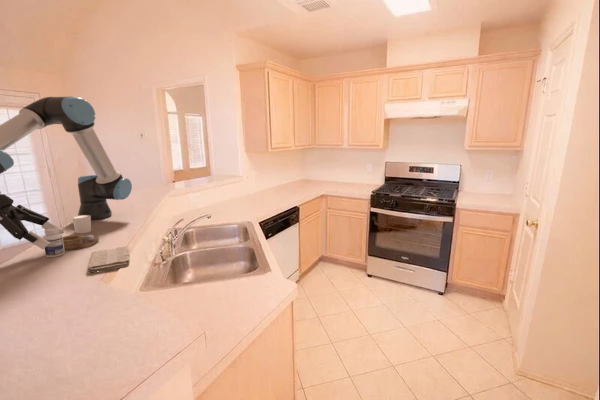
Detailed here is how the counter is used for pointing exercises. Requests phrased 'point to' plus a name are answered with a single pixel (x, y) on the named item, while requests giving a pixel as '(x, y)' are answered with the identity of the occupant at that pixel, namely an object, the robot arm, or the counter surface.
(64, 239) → the fire pit
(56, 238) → the pill bottle
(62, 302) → the counter surface
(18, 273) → the counter surface
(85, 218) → the white cup
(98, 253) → the washcloth
